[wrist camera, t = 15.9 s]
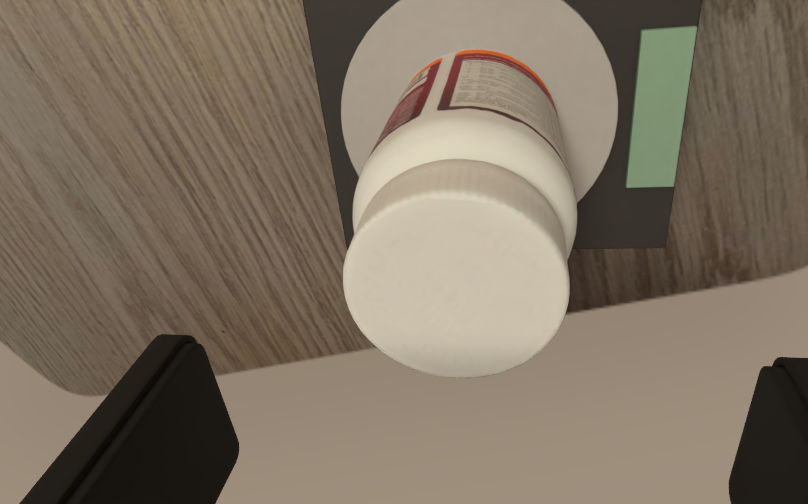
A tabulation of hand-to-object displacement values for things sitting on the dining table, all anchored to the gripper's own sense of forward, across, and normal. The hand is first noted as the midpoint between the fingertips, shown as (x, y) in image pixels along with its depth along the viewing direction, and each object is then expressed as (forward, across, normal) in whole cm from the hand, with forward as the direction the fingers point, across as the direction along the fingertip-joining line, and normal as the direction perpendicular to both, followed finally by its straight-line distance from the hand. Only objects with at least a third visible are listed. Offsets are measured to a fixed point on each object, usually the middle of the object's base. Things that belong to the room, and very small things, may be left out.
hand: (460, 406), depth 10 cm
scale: (+18, 0, 0) cm, 18 cm away
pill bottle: (+15, +1, 0) cm, 15 cm away
